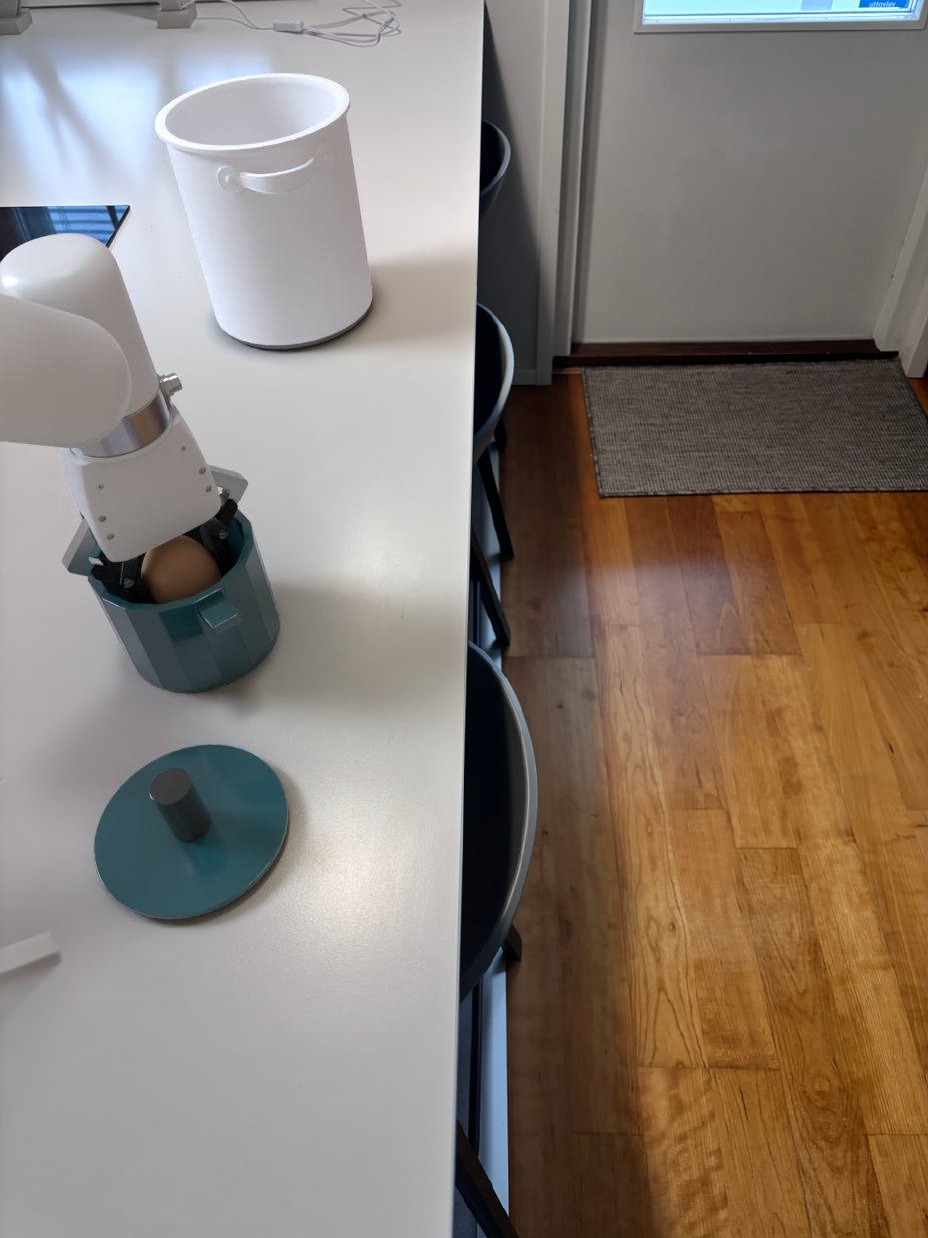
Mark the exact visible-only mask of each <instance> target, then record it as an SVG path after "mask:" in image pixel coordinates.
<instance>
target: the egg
mask: <svg viewBox="0 0 928 1238" xmlns="http://www.w3.org/2000/svg"><path fill="white" fill-rule="evenodd" d="M141 579H142V581H143V582H144V584H145V586H146V588H147V590H148V593H149V595H150V597H151V599H152V601H153V604H157V605H160V604H164V603H168V602H173V601H177V600H182V599H186V598H190V597H192V596H194V595H196V594H198V593H200V592H202V591H203V590H205V589H207V588H209V587H211V586H213V585H215V584H217V583H218V582H219V581H220V580H221V573H220V569H219V566H218V564H217V562H216V560H215V558H214V557H213V556H212V554H211V553H210V551H209V550H207V549H206V548H205V547H204V546H203V545H201V544H200V543H199V542H197V541H195V540H194V539H192V538H189V537H187V536H184V535H180V536H178V537H176V538H174V539H172V540H170V541H168V542H166V543H164V544H162V545H160V546H158V547H156V548H153V549H151V550H149V551H147V553H146V555H145V557H144V560H143V564H142V569H141Z"/></svg>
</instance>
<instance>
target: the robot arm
mask: <svg viewBox="0 0 928 1238" xmlns="http://www.w3.org/2000/svg"><path fill="white" fill-rule="evenodd" d="M128 291H129V290H128V289H127V286H126V283H125V280H124V277H123V274H122V272H121V269H120V267H119V264H118V262H117V260H116V257H115V256H114V255H113V253H112V251H111V250H110V249H109V247H108V246H107V245H105V244H104V243H103V242H102V241H100V240H98V239H97V238H94V237H92V236H90V235H86V234H82V233H74V232H73V233H72V232H68V233H67V232H66V233H56V234H49V235H45V236H40V237H37V238H34V239H32V240H29V241H26V242H24V243H22V244H20V245H18V246H17V247H15V248H14V249H12V250H11V251H10V252H8V253H7V254H6V255H5V256H4V257H3V259H2V260H1V261H0V442H4V443H13V444H20V445H21V444H22V445H31V446H42V447H52V448H57V450H58V456H59V461H60V464H61V468H62V472H63V476H64V478H65V482H66V484H67V487H68V490H69V494H70V495H71V498H72V500H73V503H74V505H75V508H76V510H77V513H78V516H79V517H80V519H81V522H80V523H79V526H78V528H77V529H76V532H75V534H74V536H73V537H72V539H71V541H70V543H69V545H68V546H67V548H66V550H65V552H64V554H63V556H62V557H61V558H62V559H61V563H62V565H63V566H64V568H65V569H66V571H67V572H68V573H70V574H73V575H78V576H83V577H87V578H88V576H91V577H94V578H95V579H96V580H100V581H106V582H111V583H117V584H120V585H121V586H122V588H123V590H124V592H125V594H126V596H127V598H128V600H129V601H130V603H140V604H153V601H152V599H151V597H150V595H149V593H148V590H147V588H146V586H145V584H144V582H143V581H142V579H141V578H140V577H139V575H138V574H137V573H136V569H137V560H138V556H139V555H141V554H143V553H145V552H147V551H149V550H151V549H153V548H156V547H158V546H160V545H162V544H164V543H166V542H168V541H170V540H172V539H174V538H176V537H178V536H180V535H182V534H184V533H185V532H187V531H189V530H191V529H193V528H195V527H197V526H199V525H200V528H201V529H200V530H199V531H200V534H201V537H202V539H203V542H204V545H205V547H206V549H207V550H209V551H210V553H211V554H212V556H213V557H214V558H215V560H216V562H217V564H218V566H219V569H220V572H221V573H222V574H223V575H224V576H225V575H226V574H227V573H228V572H229V571H230V570H231V566H230V564H229V560H230V559H232V558H233V555H232V552H231V549H230V547H229V544H228V541H227V537H228V535H229V533H230V531H229V529H228V527H229V525H230V523H231V521H232V519H233V517H234V515H235V513H236V512H237V510H238V509H239V505H238V504H239V502H241V500H242V498H243V496H244V495H245V492H246V490H247V488H248V486H249V481H248V480H247V479H246V478H245V477H244V476H243V475H242V474H241V473H240V472H237V471H233V470H231V469H227V468H222V467H219V466H216V465H211V464H208V463H207V461H206V458H205V456H204V454H203V452H202V450H201V448H200V446H199V443H198V441H197V440H196V438H195V436H194V433H193V432H192V430H191V429H190V427H189V425H188V423H187V421H186V420H185V418H184V416H183V415H182V414H181V412H180V411H179V409H178V408H177V406H176V405H175V403H174V402H173V401H172V399H171V397H173V396H174V395H175V393H178V392H179V391H182V390H183V384H182V382H181V380H180V378H179V376H178V375H177V374H176V372H172V373H169V374H167V375H165V374H162V375H159V373H157V370H156V368H155V365H154V362H153V359H152V357H151V354H150V351H149V348H148V346H147V343H146V340H145V337H144V334H143V331H142V329H141V326H140V323H139V321H138V317H137V315H136V312H135V309H134V306H133V303H132V300H131V297H130V294H129V292H128ZM218 488H220V489H221V488H222V490H221V493H220V492H219V489H218ZM96 543H98V545H99V547H100V548H101V550H102V551H103V552H104V554H105V555H106V557H107V558H108V559H106V558H101V557H89V556H90V554H91V552H92V551H93V549H94V547H95V545H96Z"/></svg>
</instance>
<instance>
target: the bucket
mask: <svg viewBox="0 0 928 1238" xmlns="http://www.w3.org/2000/svg"><path fill="white" fill-rule="evenodd" d="M350 97H351V96H350V94H349V92H348V90H347V89H346V88H345V87H344V86H342V85H341V84H340V83H338V82H336V81H334V80H332V79H329V78H326V77H322V76H319V75H318V76H317V75H313V74H312V75H311V74H306V73H294V72H293V73H291V72H277V73H261V74H260V73H259V74H249V75H244V76H238V77H232V78H228V79H224V80H219V81H215V82H212V83H209V84H206V85H204V86H199V87H197V88H195V89H193V90H191V91H188V92H186V93H183V94H182V95H180V96H178V97H176V98H174V99H173V100H171V101H170V102H169V103H167V104H166V105H165V106H163V107H162V108H161V110H160V111H159V112H158V113H157V115H156V117H155V119H154V128H155V133H156V135H157V136H158V137H159V139H160V140H161V141H162V142H164V143H165V145H166V148H167V152H168V154H169V158H170V162H171V166H172V168H173V172H174V176H175V179H176V182H177V186H178V190H179V194H180V197H181V200H182V204H183V206H184V207H183V208H184V210H185V214H186V217H187V222H188V225H189V228H190V232H191V236H192V238H193V242H194V245H195V249H196V253H197V256H198V259H199V263H200V266H201V270H202V273H203V274H202V275H203V277H204V281H205V283H206V287H207V291H208V294H209V298H210V301H211V305H212V309H213V313H214V315H215V318H216V323H218V325H219V326H220V328H221V329H222V331H223V332H224V333H225V334H226V335H228V337H230V338H231V339H233V340H235V341H237V342H239V343H241V344H244V345H247V346H251V347H255V348H259V349H266V350H293V349H301V348H305V347H306V348H307V347H310V346H315V345H316V346H317V345H318V344H322V343H325V342H328V341H330V340H333V339H335V338H337V337H339V336H341V335H343V334H345V333H346V332H347V331H349V330H351V329H353V328H354V327H355V326H356V325H357V324H358V323H359V322H360V321H361V320H363V318H364V317H366V314H368V312H369V310H370V308H371V304H372V300H373V286H372V279H371V272H370V264H369V258H368V252H367V246H366V238H365V232H364V225H363V224H364V223H363V218H362V212H361V205H360V199H359V191H358V185H357V178H356V173H355V172H356V171H355V166H354V158H353V152H352V145H351V137H350V132H349V124H348V118H347V117H348V116H347V115H348V112H349V110H350V108H351V98H350Z"/></svg>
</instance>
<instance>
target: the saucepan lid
mask: <svg viewBox="0 0 928 1238" xmlns="http://www.w3.org/2000/svg"><path fill="white" fill-rule="evenodd" d="M288 826H289V802H288V799H287V795H286V791H285V789H284V787H283V784H282V781H281V779H280V778H279V776H278V775H277V773H276V772H275V771H274V770H273V768H271V766H270V765H269V764H268V763H267V762H265V761H264V760H263V759H262V758H260V757H259V756H257V755H256V754H254V753H252V752H250V751H247V750H246V749H243V748H239V747H236V746H233V745H226V744H199V745H192V746H188V747H183V748H180V749H177V750H174V751H171V752H169V753H166V754H164V755H161V756H159V757H157V758H155V759H154V760H152V761H150V762H148V763H147V764H145V765H144V766H143V767H141V768H140V769H138V770H137V771H136V772H134V773H133V774H132V775H131V776H130V777H129V778H127V779H126V780H125V782H124V783H123V784H121V785H120V787H119V788H118V789H117V790H116V791H115V792H114V794H113V795H112V796H111V798H110V800H109V801H108V803H107V804H106V806H105V808H104V810H103V811H102V814H101V816H100V817H99V820H98V824H97V827H96V831H95V835H94V841H93V842H94V843H93V857H94V858H93V859H94V864H95V869H96V872H97V875H98V877H99V879H100V882H101V883H102V885H103V886H104V888H105V889H106V891H107V893H108V894H109V895H110V896H111V897H112V898H113V899H114V900H115V901H116V902H117V903H119V904H120V905H121V906H123V907H124V908H126V909H127V910H129V911H132V912H133V913H135V914H138V915H141V916H144V917H147V918H151V919H153V918H154V919H159V920H182V919H189V918H195V917H199V916H203V915H206V914H208V913H212V912H214V911H216V910H219V909H221V908H223V907H226V906H227V905H229V904H230V903H232V902H234V901H236V900H237V899H239V898H240V897H241V896H243V895H244V894H245V893H246V892H248V891H249V890H250V889H252V888H253V887H254V885H256V884H257V883H258V882H259V881H260V880H261V879H262V878H263V877H264V875H265V874H266V873H267V872H268V871H269V869H270V867H271V866H272V865H273V864H274V862H275V860H276V858H277V857H278V855H279V853H280V851H281V849H282V846H283V844H284V841H285V838H286V835H287V829H288Z"/></svg>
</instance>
